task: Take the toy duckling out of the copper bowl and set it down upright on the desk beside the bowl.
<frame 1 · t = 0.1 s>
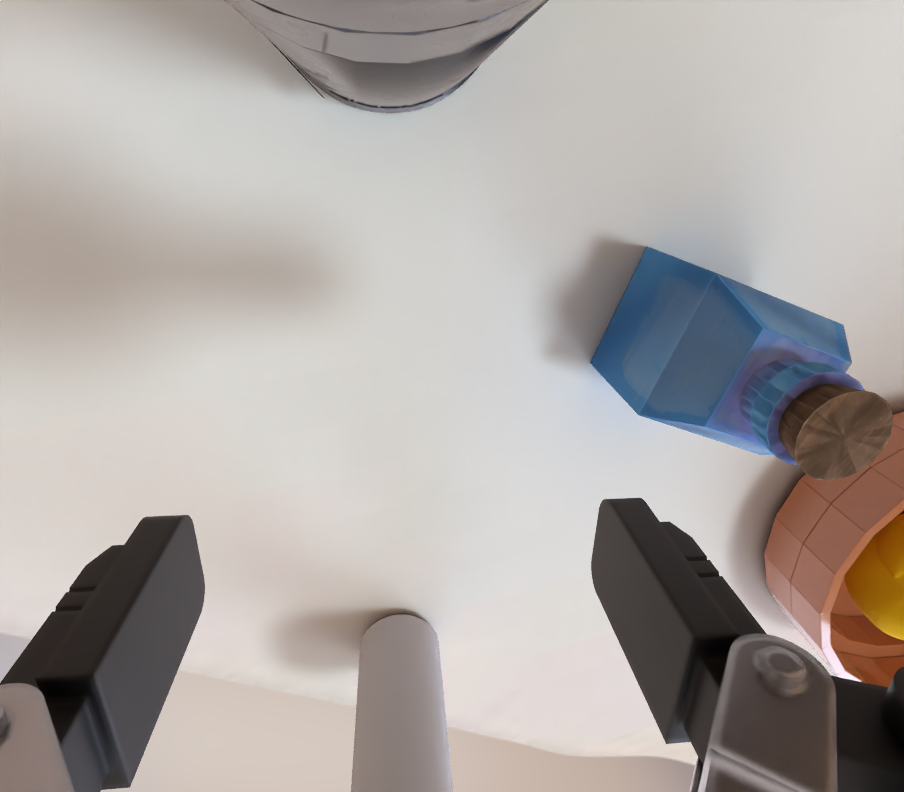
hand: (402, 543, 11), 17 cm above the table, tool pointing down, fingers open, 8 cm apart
duckling: (896, 527, 35), resting on bowl
bowl: (892, 524, 35), on the table
perfume bottle: (668, 325, 29), on the table
beverage can: (399, 635, 35), on the table
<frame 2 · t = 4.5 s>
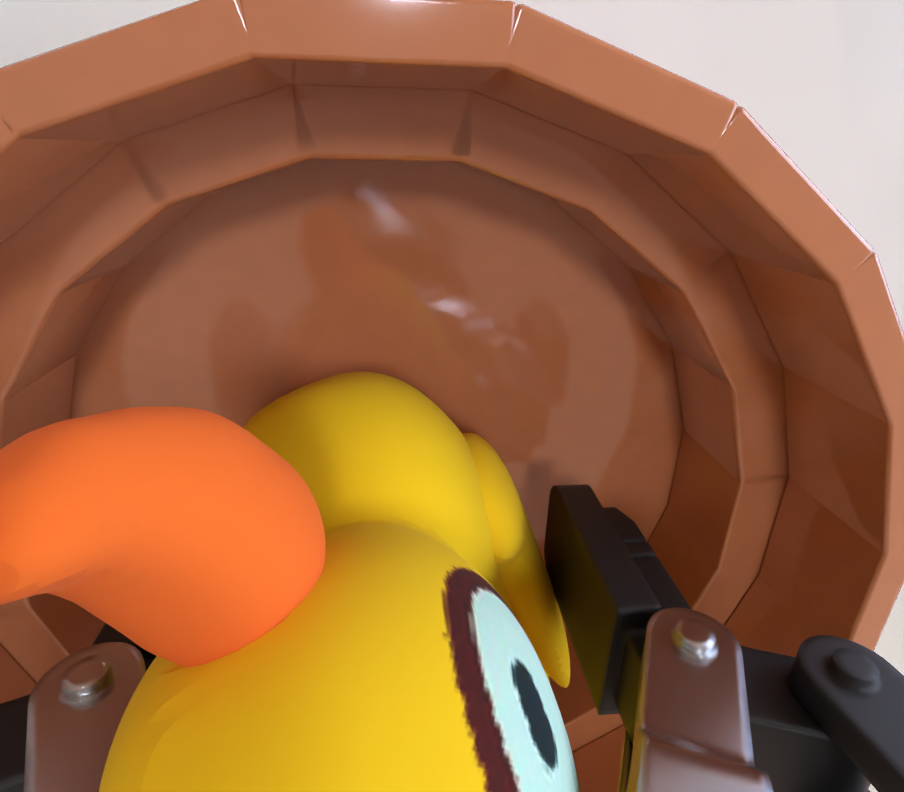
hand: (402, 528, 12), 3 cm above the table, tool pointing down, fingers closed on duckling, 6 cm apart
duckling: (393, 473, 14), resting on bowl, touching gripper
bowl: (393, 467, 14), on the table
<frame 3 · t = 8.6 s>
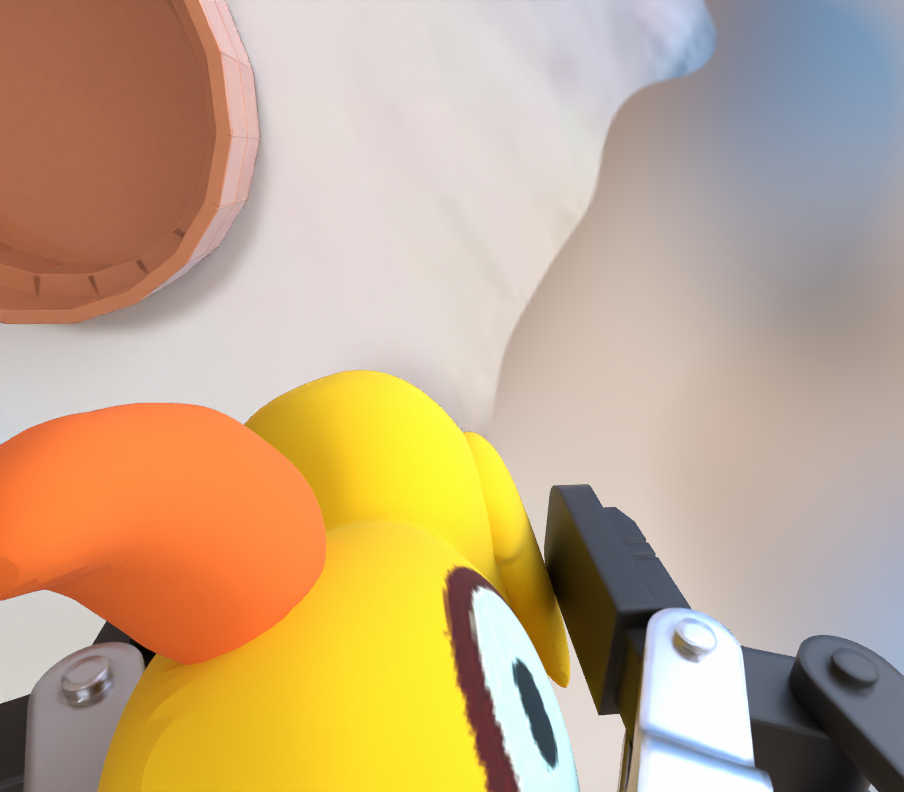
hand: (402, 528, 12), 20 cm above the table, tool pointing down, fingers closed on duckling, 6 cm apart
duckling: (393, 472, 14), point 18 cm above the table, touching gripper
bowl: (58, 99, 25), on the table
when the fingers open (2 cm above the table, at t = 13.0 s): duckling stays where it is, on the table.
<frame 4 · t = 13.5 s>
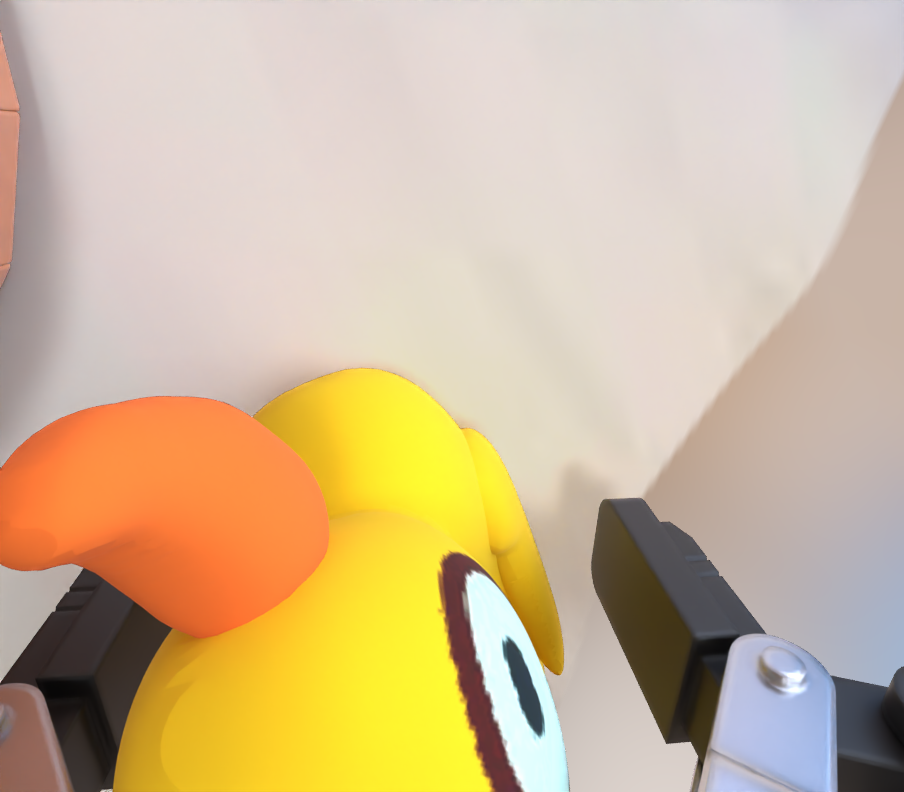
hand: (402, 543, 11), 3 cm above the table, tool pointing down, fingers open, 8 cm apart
duckling: (393, 468, 14), on the table
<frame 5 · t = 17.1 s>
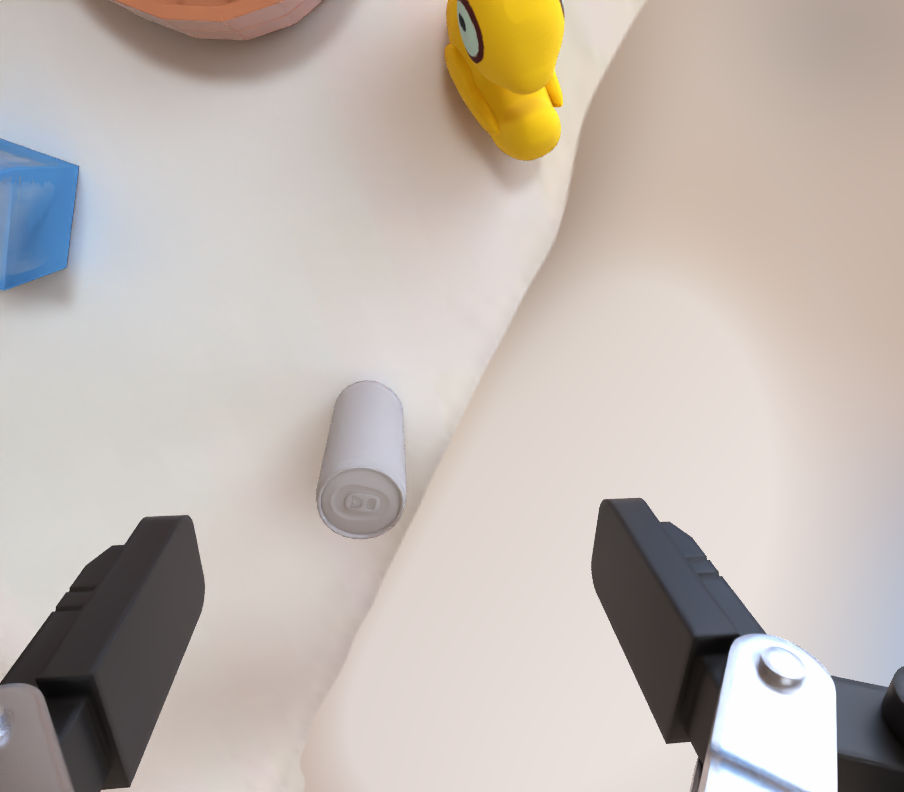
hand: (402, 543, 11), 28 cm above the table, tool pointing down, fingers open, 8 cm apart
duckling: (490, 62, 33), on the table
perfume bottle: (17, 199, 33), on the table
beverage can: (369, 407, 41), on the table
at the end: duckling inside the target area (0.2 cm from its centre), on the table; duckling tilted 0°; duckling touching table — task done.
